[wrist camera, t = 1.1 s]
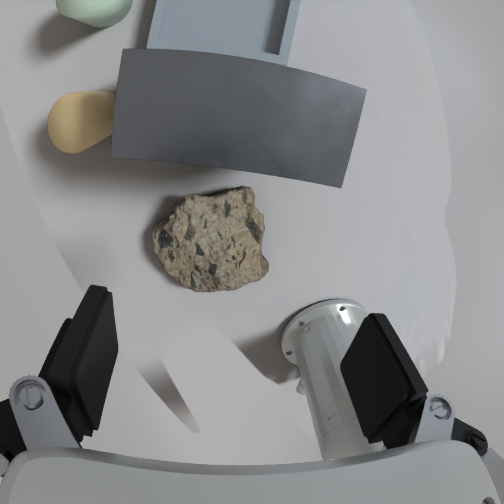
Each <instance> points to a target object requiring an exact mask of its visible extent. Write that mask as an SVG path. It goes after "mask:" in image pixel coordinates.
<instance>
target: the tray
mask: <svg viewBox="0 0 504 504" xmlns="http://www.w3.org/2000/svg"><path fill="white" fill-rule="evenodd" d="M300 1H301V0H157V2H156V6H155V10H154V14H153V19H152V23H151V28H150V33H149V37H148V42H147V49H163V50H180V51H192V52H202V53H211V54H219V55H227V56H234V57H240V58H246V59H252V60H257V61H263V62H268V63H273V64H278V65H282V66H287V62H288V57H289V52H290V47H291V43H292V38H293V33H294V29H295V24H296V19H297V15H298V10H299V5H300Z"/></svg>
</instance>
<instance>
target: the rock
mask: <svg viewBox="0 0 504 504" xmlns="http://www.w3.org/2000/svg"><path fill="white" fill-rule="evenodd" d="M264 231H265V227H264V215H263V214H261V213H260V212H259V211H258V209H257V208H256V207H255V197H254V193H253V190H252V188H250V187H245V186H240V187H236V188H231V189H228V190H226V191H224V192H222V193H219V194H216V195H215V196H200V195H195V194H188V195H186V196H183V197H181V198H180V199H179V200H178V201H177V203H176V204H175V208H174V211H173V212H172V214H171V215H170V216H169V218H168V219H165V220H164V221H162V222H159V223H157V224H156V225H154V226H153V232H152V236H153V242H154V249H153V250H154V253H155V254H156V255H157V257H158V258H159V260H160V262H161V264H162V267H163V268H164V269H165V270H166V271H167V272H168V274H169V275H171V276H173V277H174V278H175V280H176V281H177V282H178V283H180V284H181V285H182V286H183V287H184V288H188V289H191V290H193V291H195V292H215V291H222V290H226V291H229V290H236V289H238V288H240V287H242V286H244V285H246V284H248V283H251V282H256V281H259V280H261V279H262V278H263V277H264V276H265V275H266V274H267V272H268V270H269V263H268V261H267V259H266V258H265V257H264V256H263V255H262V251H261V244H262V237H263V233H264Z"/></svg>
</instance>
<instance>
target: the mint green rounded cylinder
mask: <svg viewBox="0 0 504 504" xmlns="http://www.w3.org/2000/svg"><path fill="white" fill-rule="evenodd" d="M132 1H133V0H56V6H57V9H58V11H59V12H60V13H61V14H62V15H64V16H67V17H69V18H72V19H75V20H78V21H80V22H83V23H86V24H88V25H91V26H93V27H96V28H106V27H110V26H113V25H115V24H117V23H118V22H120V21H121V20H122V19H123V18H124V17H125V16H126V15H127V14H128V12H129V10H130V8H131V6H132Z"/></svg>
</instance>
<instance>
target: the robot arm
mask: <svg viewBox="0 0 504 504" xmlns="http://www.w3.org/2000/svg"><path fill="white" fill-rule="evenodd" d="M281 347H282V351H283V354H284V356H285V358H286V359H287V360H288V361H289V362H291V363H292V364H294V365H296V366H298V367H299V371H300V374H301V379H300V381H299V383H298V385H297V387H296V391H297V392H298V393H299V394H303V395H304V394H306V397H307V401H308V405H309V409H310V413H311V417H312V421H313V425H314V429H315V432H316V436H317V440H318V444H319V448H320V451H321V455H322V458H323V461H315V462H305V463H293V464H278V465H206V464H189V463H179V462H169V461H159V460H152V459H144V458H137V457H131V456H124V455H118V454H113V453H107V452H101V451H95V450H90V449H83V448H82V446H81V444H80V442H81V441H82V440H83V436H84V435H86V436H90V437H92V433H93V430H98V428H99V424H100V420H101V416H102V411H103V407H104V403H105V399H106V395H107V391H108V387H109V383H110V380H111V376H112V372H113V368H114V365H115V361H116V358H117V354H118V340H117V333H116V325H115V317H114V308H113V298H112V293H111V292H108V291H107V288H106V287H103V286H96V285H90V287H89V288H88V290H87V292H86V294H85V296H84V298H83V300H82V301H81V303H80V305H79V307H78V309H77V311H76V313H75V315H74V317H73V319H70V318H67V319H66V320H65V321H64V323H63V325H62V327H61V328H60V330H59V333H58V335H57V337H56V339H55V341H54V343H53V345H52V347H51V349H50V351H49V353H48V355H47V358H46V360H45V362H44V364H43V366H42V369H41V371H40V373H39V376H38V377H37V376H31V375H29V376H24V377H21V378H19V379H17V380H16V381H15V382H14V383H13V385H12V387H11V388H10V393H9V399H6V400H4V401H2V402H0V477H3V479H2V482H1V485H0V504H504V460H503V459H502V458H501V457H500V456H499V455H498V454H497V453H496V452H495V451H494V450H493V449H492V448H489V449H487V448H488V443H487V440H486V438H485V436H484V435H483V434H482V432H480V431H479V430H477V429H475V428H473V427H472V426H470V425H468V424H466V423H464V422H462V421H460V420H459V419H457V418H455V417H454V415H455V412H454V407H453V405H452V404H451V402H450V401H449V400H448V399H447V398H446V397H444V396H442V395H440V394H432V395H430V396H429V397H427V396H426V393H427V392H428V389H427V387H426V385H425V383H424V381H423V379H422V378H421V376H420V374H419V372H418V370H417V369H416V367H415V365H414V363H413V361H412V360H411V358H410V356H409V354H408V353H407V351H406V349H405V347H404V346H403V344H402V342H401V341H400V339H399V337H398V335H397V334H396V332H395V330H394V329H393V327H392V325H391V324H390V322H389V320H388V319H387V317H386V316H385V315H384V314H380V313H370V314H369V315H368V314H367V312H366V310H365V309H364V308H363V307H362V306H361V305H359V304H358V303H356V302H353V301H350V300H343V299H336V300H328V301H323V302H320V303H317V304H315V305H312V306H310V307H308V308H306V309H304V310H303V311H302V312H300V313H299V314H297V315H296V316H295V317H294V318H293V319H292V320H291V321H290V322H289V323H288V325H287V326H286V327H285V329H284V331H283V333H282V337H281Z"/></svg>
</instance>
